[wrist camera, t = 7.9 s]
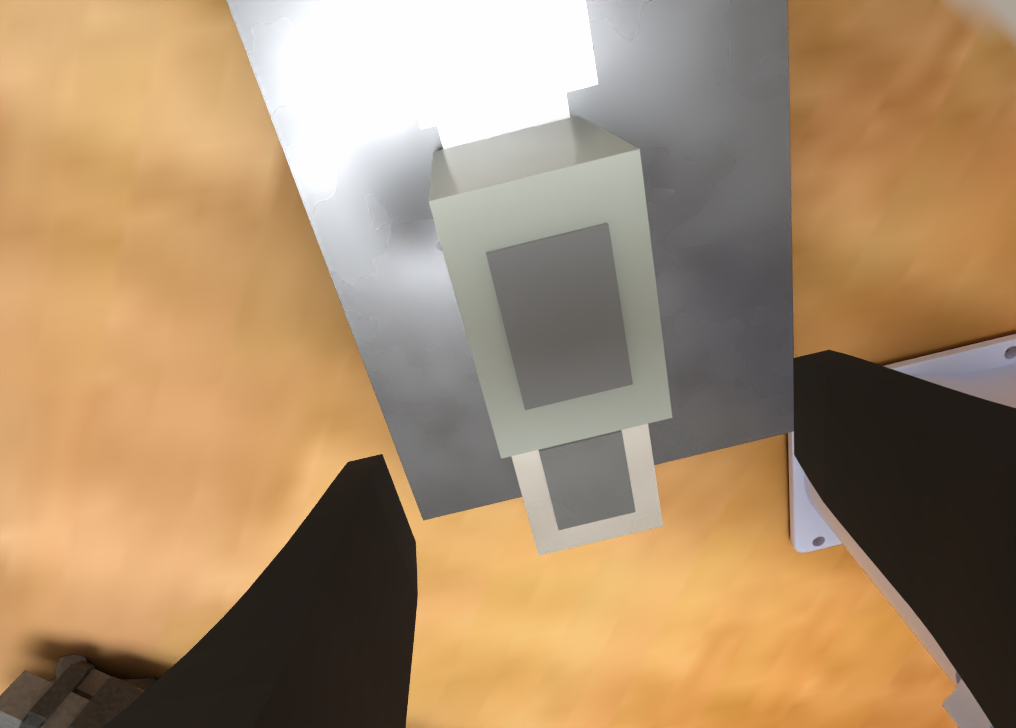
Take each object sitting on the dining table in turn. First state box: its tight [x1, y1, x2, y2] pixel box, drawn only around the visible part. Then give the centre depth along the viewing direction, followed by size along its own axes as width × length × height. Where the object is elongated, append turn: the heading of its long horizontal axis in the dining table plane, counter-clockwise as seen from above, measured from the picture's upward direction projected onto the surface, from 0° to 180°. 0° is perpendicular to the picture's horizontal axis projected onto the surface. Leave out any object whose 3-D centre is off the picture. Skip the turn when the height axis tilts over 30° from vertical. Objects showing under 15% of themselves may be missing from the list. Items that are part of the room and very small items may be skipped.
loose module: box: [429, 116, 672, 459], centre depth 16 cm, size 4×6×6 cm, turn 13°
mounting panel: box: [227, 0, 794, 555], centre depth 18 cm, size 14×19×5 cm
